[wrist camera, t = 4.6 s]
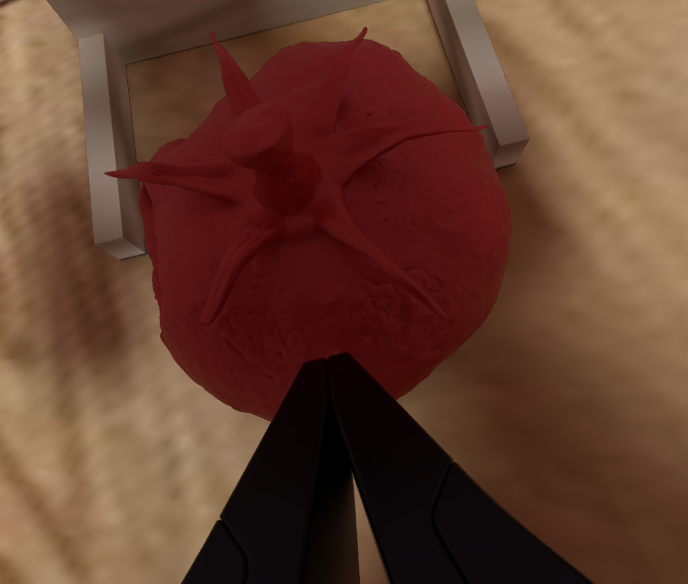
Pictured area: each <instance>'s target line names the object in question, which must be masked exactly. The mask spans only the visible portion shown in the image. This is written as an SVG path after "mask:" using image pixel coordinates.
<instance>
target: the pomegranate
mask: <svg viewBox="0 0 688 584" xmlns="http://www.w3.org/2000/svg"><path fill="white" fill-rule="evenodd" d="M366 33H367V27H364V29H363V30H362V32H361V33H360V34H359V36H358V37H357V38H355V39H353V40H350V41H346V42H344V41H342V42H319V43H311V42H301V43H298V44H295V45H292V46H288V47H286V48H284V49H282V50H280V51H279V52H278V53H277V54H275V55H274V56H273V57H272V58H270V59H269V60H268V61H267V62H266V63H265V65H264V66H263V67H262V69H261V70H260V71H259V72H258V73H257V74H256V75H255V76H254V77H253V78H252V79H250V80H248V78H247V77H246V75H245V74H244V73H243V71H242V70H241V69H240V67H239V66H238V65H237V64H236V62H235V61H234V59H233V58H232V57H231V56H230V55H229V54H228V53H227V52H226V51H225V50H224V49H223V48H222V46H221V45H220V44H219V43H218V42H217V40H216V39H215V36H214V33H212V32H211V33H210V38H211V40H212V42H213V45H214V47H215V49H216V52H217V55H218V57H219V60H220V64H221V70H222V80H223V84H224V88H225V91H226V94H227V96H225V97H224V98H223V99H221V100H220V101H219V102H218V103H217V104H216V105H215V106H214V108H213V109H212V111H211V113H210V114H209V116H208V117H207V118H206V119H205V120H204V122H203V123H202V124H201V125H200V126H199V127H198V128H197V129H196V130H195V132H193V133H192V134H191V135H190V137H189V138H188V139H178V140H174V141H172V142H169V143H166V144H165V145H164V146H162V147H160V148H159V149H158V150H157V152H156V153H155V155H154V156H153V157H152V158H151V160H150V162H139V163H135V164H133V165H131V166H130V167H129V168H127V169H119V170H116V171H110V172H105V173H104V174H106V175H108V176H111V177H115V178H121V179H137V180H139V181H141V182H142V184H141V187H140V192H139V197H138V205H139V210H140V215H141V217H142V219H143V223H144V229H145V245H146V248H147V251H148V253H149V256H150V258H151V260H152V263H153V267H154V270H153V274H152V275H153V276H152V282H153V291H154V293H155V297H154V298H155V299H156V300H157V301H158V305H159V308H160V317H159V318H160V327H161V330H162V332H161V334H160V338H161V340H162V342H163V343H164V345H165V346H166V347H167V348H168V350H169V352H170V353H171V355H172V357H173V359H174V360H175V361H176V363H177V364H178V365H179V366H180V367H181V368H182V370H183V371H184V372H185V373H186V374H187V375H188V376H189V377H190V378H191V379H192V380H193V381H194V382H195V383H197V384H199V385H200V386H202V387H203V388H204V389H205V390H206V391H207V392H209V393H210V394H212V395H213V396H214V397H216V398H217V399H218V400H220V401H221V402H223V403H224V404H226V405H228V406H231V407H232V408H233V409H235V410H237V411H240V412H245V413H251V414H253V415H256V416H258V417H261V418H263V419H265V420H268V421H270V422H271V421H272V420H273V418H274V416H275V414H276V412H277V410H278V409H279V407H280V405H281V403H282V401H283V399H284V398H285V396H286V394H287V392H288V390H289V389H290V387H291V385H292V383H293V381H294V379H295V378H296V376H297V374H298V372H299V370H300V368H301V367H302V365H303V364H304V363H305V362H307V361H311V360H315V359H319V358H325V359H326V360H327V358H328V357H329V356H331V355H335V354H339V353H343V352H348V353H350V354H351V355H352V356H353V357H354V358H355V359H356V360H357V361H358V362H359V363H360V364H361V365H362V366H363V367H364V368H365V369H366V370H367V371H368V372H369V374H370V375H371V376H372V377H373V378H374V379H375V380H376V381H377V382H378V383H379V384H380V385H381V386H382V387H383V388H384V389H385V390H386V391H387V392H388V393H389V394H390V395H391V396H392V397H393V398H394V399H395V400H397V399H399V398H400V397H402V396H403V395H405V394H407V393H408V392H409V391H411V390H412V389H413V388H414V387H416V386H417V385H418V384H419V383H420V382H421V381H422V380H424V379H425V378H426V377H428V376H429V375H430V373H431V372H432V370H433V369H434V368H435V367H436V366H438V365H439V364H440V363H441V362H442V361H444V360H445V359H447V358H448V357H449V356H450V355H451V354H452V353H454V352H455V351H456V350H457V349H458V348H459V347H460V346H461V345H462V344H463V343H464V342H465V341H466V340H467V339H468V338H469V337H470V336H471V335H472V334H473V333H474V332H475V331H476V330H477V329H478V328H479V327H480V326H481V325H482V323H483V322H484V320H485V319H486V318H487V316H488V315H489V313H490V311H491V310H492V308H493V305H494V303H495V301H496V299H497V296H498V293H499V290H500V286H501V283H502V278H503V274H504V270H505V268H506V264H507V261H508V257H509V251H510V237H511V231H512V224H511V211H510V207H509V204H508V200H507V194H506V192H505V190H504V188H503V187H502V184H501V181H500V179H499V176H498V174H497V171H496V169H495V166H494V163H493V160H492V158H491V156H490V154H489V152H488V151H487V149H486V147H485V141H484V138H483V136H482V135H481V134H480V132H479V131H478V130H482V129H485V128H488V127H489V126H488V125H484V126H474V125H473V124H472V123H471V122H470V120H469V118H468V117H467V114H466V113H465V111H464V110H463V109H461V108H460V107H459V105H457V104H456V103H455V102H454V101H452V100H451V99H450V98H449V97H448V96H446V95H445V94H443V93H442V92H441V91H440V90H439V89H438V88H437V86H435V85H434V84H433V83H432V82H431V81H429V80H428V79H426V78H425V77H423V76H422V75H420V74H419V73H418V72H417V71H415V70H414V69H413V68H412V67H411V66H410V65H409V64H408V63H407V61H406V60H405V59H404V58H403V57H402V55H401V54H400V53H399V52H397V51H395V50H391V49H390V48H389V47H387V46H385V45H382V44H380V43H378V42H376V41H373V40H367V39H363V38H364V36H365V35H366Z"/></svg>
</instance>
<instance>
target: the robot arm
mask: <svg viewBox="0 0 688 584" xmlns="http://www.w3.org/2000/svg"><path fill="white" fill-rule="evenodd" d="M352 473H353V475H352ZM353 476H354V479H355V482H356V485H357V489H358V492H359V495H360V498H361V501H362V504H363V507H364V510H365V513H366V516H367V519H368V522H369V525H370V529H371V532H372V535H373V538H374V541H375V544H376V547H377V550H378V553H379V556H380V559H381V562H382V565H383V568H384V571H385V575H386V578H387V581H388V584H595V583H594V582H593V581H591V580H590V579H589V578H588V577H586V576H585V575H584V574H583V573H582V572H580V571H579V570H578V569H577V568H575V567H574V566H573V565H572V564H570V563H569V562H568V561H567V560H565V559H564V558H563V557H562V556H560V555H559V554H558V553H557V552H555V551H554V550H553V549H552V548H551V547H549V546H548V545H547V544H546V543H544V542H543V541H542V540H541V539H539V538H538V537H537V536H536V535H534V534H533V533H532V532H531V531H530V530H528V529H527V528H526V527H525V526H524V525H523V524H521V523H520V522H519V521H518V520H517V519H515V518H514V517H513V516H512V515H511V514H510V513H508V512H507V511H506V510H505V509H504V508H503V507H501V506H500V505H499V504H498V503H497V502H496V501H495V500H494V499H493V498H492V497H491V496H490V495H489V494H488V493H487V492H485V491H484V490H483V489H482V488H481V487H480V486H479V485H478V484H477V483H476V482H475V481H474V480H473V479H472V478H471V477H470V476H469V475H468V474H467V473H466V472H465V471H464V470H463V469H462V468H461V467H460V466H459V465H458V464H457V463H456V462H453V459H452V458H451V457H450V456H449V455H448V454H447V453H446V452H445V451H444V450H443V449H442V447H441V446H440V445H439V444H438V443H437V442H436V441H435V440H434V439H433V438H432V437H431V436H430V435H429V434H428V433H427V432H426V431H425V430H424V429H423V428H422V427H421V426H420V425H419V424H418V423H417V422H416V421H415V420H414V419H413V418H412V417H411V416H410V415H409V414H408V413H407V412H406V411H405V409H404V408H403V407H402V406H401V405H400V404H399V403H398V402H397V401H396V400H395V399H394V398H393V397H392V396H391V395H390V394H389V393H388V392H387V391H386V390H385V389H384V388H383V387H382V386H381V385H380V384H379V383H378V382H377V381H376V380H375V379H374V378H373V377H372V376H371V375H370V374H369V372H368V371H367V370H366V369H365V368H364V367H363V366H362V365H361V364H360V363H359V362H358V361H357V360H356V359H355V358H354V357H353V356H352V355H351V354H350V353H348V352H343V353H339V354H335V355H331V356H329V357H328V358H327V360H326V359H325V358H319V359H315V360H311V361H307V362H305V363H304V364H303V365H302V367H301V368H300V370H299V372H298V374H297V376H296V378H295V379H294V381H293V383H292V385H291V387H290V389H289V390H288V392H287V394H286V396H285V398H284V399H283V401H282V403H281V405H280V407H279V409H278V410H277V412H276V414H275V416H274V418H273V420H272V421H271V423H270V425H269V427H268V429H267V430H266V432H265V434H264V436H263V438H262V440H261V441H260V443H259V445H258V447H257V449H256V451H255V452H254V454H253V456H252V458H251V460H250V461H249V463H248V465H247V467H246V469H245V471H244V472H243V474H242V476H241V478H240V480H239V482H238V483H237V485H236V487H235V489H234V491H233V492H232V494H231V496H230V498H229V500H228V502H227V503H226V505H225V507H224V509H223V511H222V513H221V514H220V519H221V520H218V521H216V523H215V525H214V527H213V529H212V530H211V532H210V534H209V536H208V538H207V539H206V541H205V543H204V545H203V547H202V548H201V550H200V552H199V553H198V555H197V557H196V559H195V560H194V562H193V564H192V566H191V567H190V569H189V571H188V572H187V574H186V576H185V578H184V579H183V581H182V583H181V584H360V573H359V558H358V543H357V527H356V512H355V497H354V484H353Z"/></svg>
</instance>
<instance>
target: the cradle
mask: <svg viewBox="0 0 688 584" xmlns="http://www.w3.org/2000/svg"><path fill="white" fill-rule="evenodd" d="M380 1H384V0H47V2H48V3H49V4H50V5H51V7H52V8H53V9H54V10H55V12H56V13H57V14H58V15H59V17H60V18H61V19H62V20H63V21H64V23H65V24H66V25H67V26H68V28H69V29H70V30H71V31H72V33H73V34H74V35H75V36H76V38H77V39H78V43H79V56H80V69H81V82H82V95H83V108H84V120H85V133H86V146H87V159H88V172H89V185H90V198H91V210H92V223H93V236H94V245H96V246H97V247H99V248H101V249H102V250H104V251H106V252H108V253H109V254H111V255H113V256H114V257H116V258H118V259H119V260H124V259H128V258H132V257H136V256H140V255H144V254H148V251H147V248H146V245H145V235H144V226H143V219H142V217H141V215H140V210H139V205H138V197H139V192H140V191H139V182H138V180H137V179H121V178H115V177H111V176H108V175H106V174H104V173H105V172H110V171H116V170H119V169H127V168H129V167H130V166H131V165H133V164H135V163H136V155H135V146H134V137H133V128H132V119H131V110H130V101H129V93H128V84H127V75H126V66H125V64H129V63H133V62H137V61H141V60H146V59H150V58H154V57H158V56H162V55H166V54H170V53H174V52H178V51H182V50H186V49H190V48H194V47H198V46H202V45H206V44H210V43H213V42H212V40H211V38H210V33H211V32H212V33H214V36H215V39H216V40H217V42H218V41H222V40H226V39H230V38H234V37H238V36H242V35H247V34H251V33H255V32H259V31H263V30H267V29H271V28H275V27H279V26H283V25H287V24H291V23H295V22H299V21H303V20H307V19H311V18H315V17H319V16H323V15H327V14H331V13H335V12H339V11H343V10H348V9H352V8H356V7H360V6H364V5H368V4H372V3H376V2H380ZM427 1H428V4H429V7H430V9H431V12H432V15H433V18H434V20H435V23H436V26H437V29H438V32H439V34H440V37H441V40H442V43H443V46H444V48H445V51H446V54H447V57H448V59H449V62H450V65H451V68H452V71H453V73H454V76H455V79H456V82H457V84H458V87H459V90H460V93H461V96H462V98H463V101H464V104H465V107H466V110H467V112H468V115H469V118H470V121H471V123H472V124H473V125H474V126H484V125H488V126H489V127H488V128H485V129H482V130H478V131H479V132H480V134H481V135H482V136H483V138H484V141H485V147H486V149H487V151H488V152H489V154H490V156H491V158H492V160H493V163H494V166H495V169H499V168H503V167H507V166H511V165H515V164H516V162H517V160H518V158H519V156H520V155H521V153H522V151H523V149H524V147H525V146H526V144H527V142H528V140H529V137H528V134H527V132H526V129H525V127H524V124H523V122H522V119H521V117H520V114H519V112H518V109H517V107H516V104H515V101H514V99H513V96H512V94H511V91H510V89H509V86H508V84H507V81H506V79H505V76H504V74H503V71H502V69H501V66H500V64H499V61H498V59H497V56H496V54H495V51H494V49H493V46H492V44H491V41H490V38H489V36H488V33H487V31H486V28H485V26H484V23H483V21H482V18H481V16H480V13H479V11H478V8H477V6H476V3H475V1H474V0H427Z"/></svg>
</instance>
